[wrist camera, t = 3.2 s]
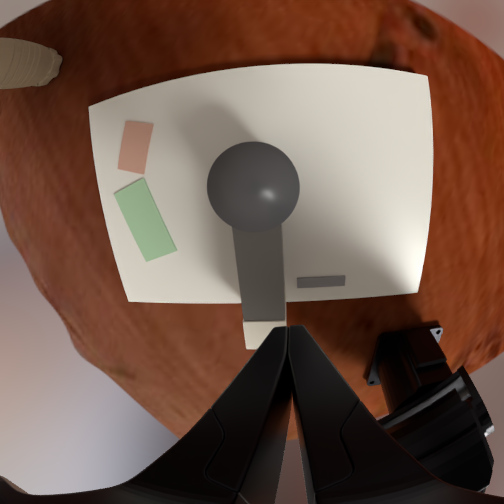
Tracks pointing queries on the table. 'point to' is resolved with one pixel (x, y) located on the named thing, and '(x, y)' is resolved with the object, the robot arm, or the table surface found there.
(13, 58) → the handle
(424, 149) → the board
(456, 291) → the table surface
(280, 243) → the grey round-headed bar
